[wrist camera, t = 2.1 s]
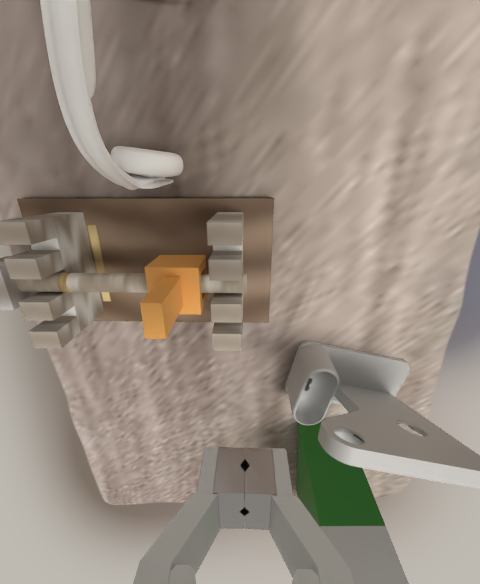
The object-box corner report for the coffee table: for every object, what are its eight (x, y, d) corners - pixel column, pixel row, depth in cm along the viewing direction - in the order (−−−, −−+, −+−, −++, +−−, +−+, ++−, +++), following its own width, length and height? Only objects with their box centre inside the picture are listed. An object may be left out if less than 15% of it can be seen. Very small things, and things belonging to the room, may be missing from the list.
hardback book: (335, 489, 51) (402, 722, 29) (296, 489, 52) (333, 720, 30) (342, 419, 45) (435, 652, 23) (298, 420, 45) (346, 650, 23)
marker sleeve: (160, 254, 29) (114, 291, 19) (205, 255, 29) (183, 292, 19) (164, 295, 31) (125, 348, 21) (207, 295, 31) (188, 349, 21)
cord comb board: (27, 198, 33) (-66, 204, 23) (272, 197, 32) (283, 204, 22) (59, 315, 39) (-3, 359, 29) (267, 317, 38) (274, 363, 28)
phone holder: (280, 390, 43) (301, 521, 26) (299, 337, 39) (336, 450, 23) (383, 410, 44) (467, 549, 27) (411, 359, 40) (527, 485, 23)
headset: (190, 192, 32) (130, 201, 16) (131, 184, 32) (8, 184, 16) (203, -37, 25) (115, -478, 8) (127, -49, 25) (-120, -523, 8)
